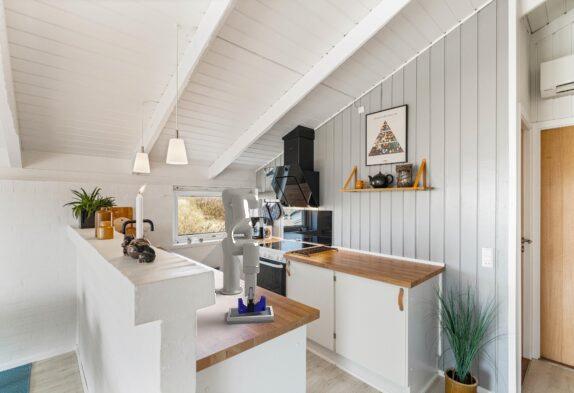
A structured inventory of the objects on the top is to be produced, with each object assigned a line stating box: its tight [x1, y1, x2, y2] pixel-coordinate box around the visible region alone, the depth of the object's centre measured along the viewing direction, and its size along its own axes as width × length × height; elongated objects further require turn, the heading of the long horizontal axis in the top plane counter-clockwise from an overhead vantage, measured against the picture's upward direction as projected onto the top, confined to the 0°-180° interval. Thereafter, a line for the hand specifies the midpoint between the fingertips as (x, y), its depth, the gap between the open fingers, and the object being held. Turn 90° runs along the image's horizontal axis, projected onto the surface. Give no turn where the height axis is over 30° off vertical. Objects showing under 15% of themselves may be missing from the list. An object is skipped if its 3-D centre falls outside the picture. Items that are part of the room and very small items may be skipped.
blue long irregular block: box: [237, 295, 267, 314], centre depth 127 cm, size 12×4×6 cm, turn 109°
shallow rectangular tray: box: [226, 305, 275, 325], centre depth 127 cm, size 14×20×2 cm
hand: (250, 309), depth 127 cm, fingers closed on blue long irregular block, 5 cm apart
